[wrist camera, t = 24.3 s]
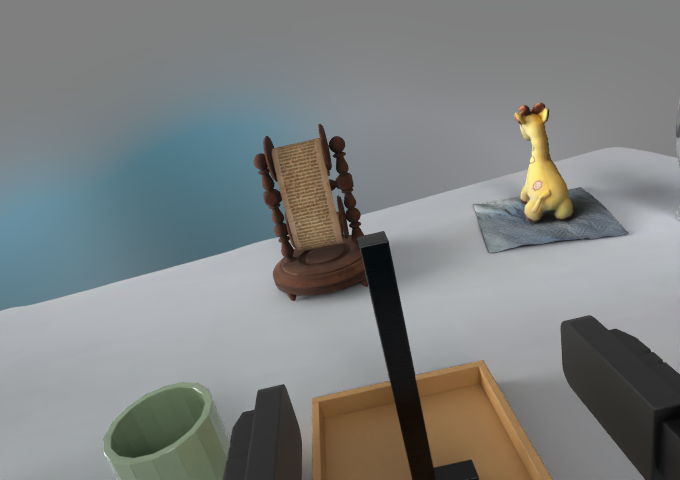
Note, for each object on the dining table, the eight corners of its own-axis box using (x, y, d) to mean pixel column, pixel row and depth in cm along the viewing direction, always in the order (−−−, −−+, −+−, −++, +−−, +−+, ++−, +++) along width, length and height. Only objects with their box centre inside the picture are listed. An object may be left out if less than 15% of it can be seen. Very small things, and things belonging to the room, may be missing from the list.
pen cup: (135, 563, 30) (83, 475, 27) (166, 473, 36) (126, 394, 34) (239, 540, 30) (198, 449, 27) (251, 454, 36) (219, 373, 33)
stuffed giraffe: (580, 188, 71) (574, 82, 65) (629, 238, 55) (626, 104, 49) (473, 207, 75) (458, 110, 68) (490, 260, 59) (471, 139, 52)
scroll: (270, 315, 56) (219, 156, 49) (284, 264, 70) (246, 133, 62) (389, 292, 55) (354, 125, 48) (380, 244, 69) (352, 109, 61)
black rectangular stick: (418, 507, 29) (360, 247, 22) (413, 487, 30) (357, 236, 23) (481, 493, 29) (441, 228, 22) (474, 474, 30) (434, 218, 23)
